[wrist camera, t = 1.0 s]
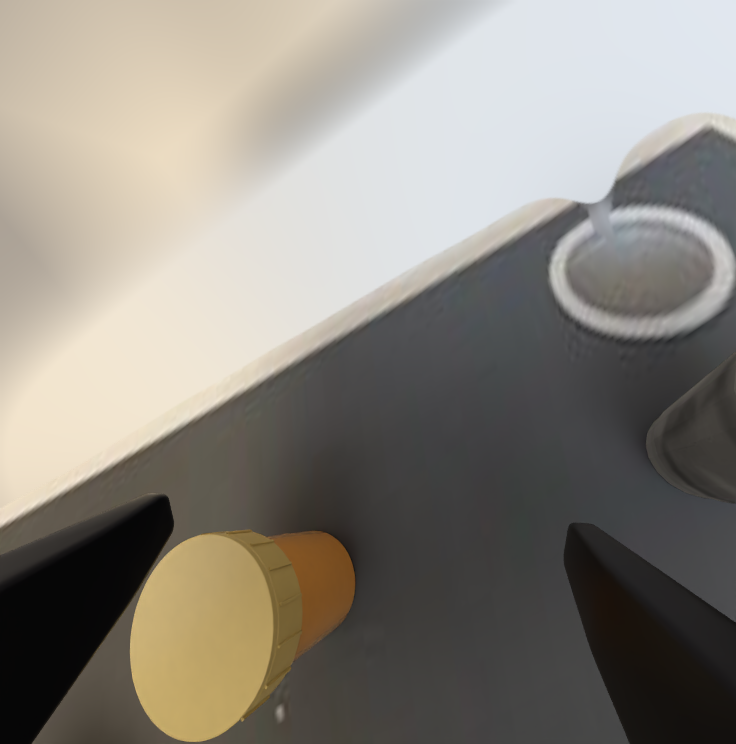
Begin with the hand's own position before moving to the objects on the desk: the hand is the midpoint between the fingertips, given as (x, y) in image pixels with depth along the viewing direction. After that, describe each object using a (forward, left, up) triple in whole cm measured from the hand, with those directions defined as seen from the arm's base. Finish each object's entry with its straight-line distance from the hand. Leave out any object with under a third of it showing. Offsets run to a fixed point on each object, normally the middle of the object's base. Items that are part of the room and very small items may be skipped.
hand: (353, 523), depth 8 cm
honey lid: (-6, +6, -5) cm, 10 cm away
